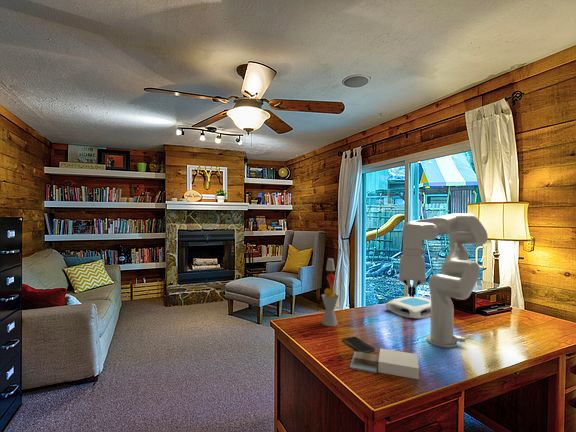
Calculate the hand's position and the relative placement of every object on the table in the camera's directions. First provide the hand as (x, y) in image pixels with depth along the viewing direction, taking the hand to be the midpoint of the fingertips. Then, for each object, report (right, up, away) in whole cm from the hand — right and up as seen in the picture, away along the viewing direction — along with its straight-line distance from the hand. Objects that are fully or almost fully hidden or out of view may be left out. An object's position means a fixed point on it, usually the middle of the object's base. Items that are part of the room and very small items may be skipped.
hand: (411, 296), depth 128 cm
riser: (-9, -25, -10) cm, 29 cm away
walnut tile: (-21, -24, -7) cm, 32 cm away
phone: (-20, -25, +10) cm, 34 cm away
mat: (-21, -25, -6) cm, 33 cm away
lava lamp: (-29, -25, +37) cm, 54 cm away
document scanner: (+26, -26, +60) cm, 70 cm away
